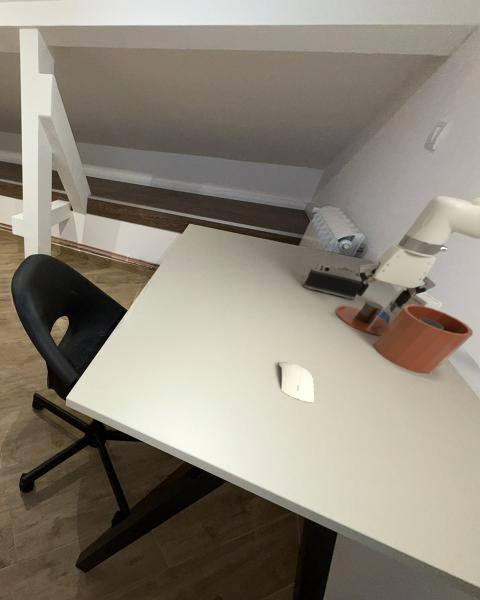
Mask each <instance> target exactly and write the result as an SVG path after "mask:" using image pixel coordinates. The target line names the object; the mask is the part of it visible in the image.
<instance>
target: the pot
mask: <svg viewBox="0 0 480 600" xmlns="http://www.w3.org/2000/svg"><path fill="white" fill-rule="evenodd" d="M419 318H426V319H430V320H432V321H435V322H437V323H439V324H440V325H441V326H443V328H444V329H443V330H441V329H438V328H436V327H433V326H431V325H428V324H426V323H424V322H422V321H420V320H418V319H419ZM473 333H474V332H473V329H472V328H471V327H470V326H469V325H468V324H466V323H465V322H463V321H461V320H460V319H458V318H457V317H454V316H452V315H451V314H449V313H446V312H444V311H442V310H439V309H438V310H435V309H433V308H429V307H425V306H421V305H413V304H409V305H404V307H403V308H402V309H401V310H400V311H399V313H398V314H397V315H396V316H395V318H394V319H393V320H392V321H391V322H390V324H388V326H387V327H386V328H385V330H384V331H383V332H382V333H381V335H378V337H377V338H376V340H374V342H373V348H374V349H375V351H376V352H378V353H379V354H380V355H381V356H382V357H383V358H384V359H386V360H388V361H389V362H391V363H392V364H394V365H397V366H398V367H401V368H403V369H404V370H407V371H411V372H414V373H417V374H425V375H430V374H432V373H434V372H436V371H437V369H438V368H440V367H441V366H442V365H443V364H444V363H445V362H446V361H447V360H448V359H449V358H450V357H451V356H452V355H453V354H454V353H455V352H456V351H457V350H458V349H459V348H461V347H462V345H464V344H465V342H467V341H468V340H469V339H470V338H471V337H472V336H473Z"/></svg>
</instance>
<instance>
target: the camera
mask: <svg viewBox="0 0 480 600" xmlns="http://www.w3.org/2000/svg"><path fill="white" fill-rule="evenodd" d="M309 270H310V271H309V273H308V275H307V277H306V279H305V282H304V284H303V287H304V288H305V289H306V290H311V291H313V290H315V291H319V292H322V293H324V294H331V295H335V296H339V297H343V298H344V299H347V300H355V299H356V297H357V296H358V294H357V293H356V288H357V286H358V285H359V284H360V282H361V281H362V280H361V278H360V275H359V271H358V272H356V269H354V268H353V269H349V268H348V267H346V266H345V267H344V266H343V267H335V266H333V265H330V266H329V265H326V264H325V265H324V264H321V263H317V265H316V267H314V268H313V267H311V268H310V269H309Z"/></svg>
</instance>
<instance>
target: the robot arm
mask: <svg viewBox="0 0 480 600" xmlns="http://www.w3.org/2000/svg"><path fill="white" fill-rule="evenodd" d="M453 233H458V234H461V235H463V236H467V237H470V238H472V239H475V240H480V196H479V197H476V198H473V199H471V200H465V199H461V198H458V197H453V196H452V197H451V196H446V195H437V196H434V197H433V198H431V199H430V200H429V201H428V203H427V204H426V205H425V207H424V208H423V210H422V211H421V212H420V213H419V215H418V216H417V218H416V219H415V221H414V222H413V223H412V224H411V226H410V228H408V230H407V231H406V233H405V234H404V235H403V237H402V238H401V239H400V241H399V243H393V244H392V245H391V246H390V247H389V248H388V249H387V250H385V252H384V253H383V254H382V255H381V256H379V258H378V260H377V261H376V262H374V263H366V264H365V263H363V264H359V265H358V273H359V275H360V278H361V280H362V281H361V282H360V284H359V285H358V286H357V288H356V293H357V296H359V297H362V296H363V295H364V293H365V292H366V291H367V289H368V288H369V287H370V283H373V282H376V281H379V282H382V283H384V284H385V283H386V284H390V285H393V286H397V287H401V288H403V287H406V291H405V290H404V291H402V292H401V294H400V295H399V296H398V297H397V299H396V300H395V303H396V304H397V306H399V307H402V305H403V304H405V303H406V302H407V301H408V300H409V299H410V298H411V296H415V295H416V294H419V293H423V292H425V293H426V292H427V291H428V290H430V289H432V288H435V287H436V283H435V282H434V281H432V280H431V279H430V278H429V277H428V276H427V275H428V273H429V272H430V270H431V269H432V268H433V265H434V263H435V262H436V260H437V255H438V253H439V252H444V253H445V252H446V251H447V250H448V246H446V245H445V243H446V242H447V240H449V238H450V237H451V236H452V235H453ZM368 270H369V273H368V274H366V271H368ZM422 282H423V284H422V285H420V284H421V283H422Z"/></svg>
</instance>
